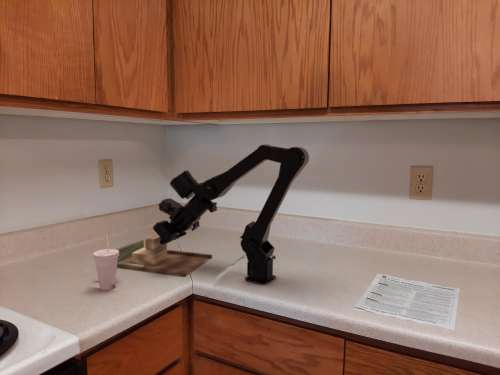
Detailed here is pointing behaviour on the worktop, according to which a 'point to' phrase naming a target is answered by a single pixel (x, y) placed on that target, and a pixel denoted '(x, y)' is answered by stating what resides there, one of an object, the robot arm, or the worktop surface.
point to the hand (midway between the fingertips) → (161, 243)
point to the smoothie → (106, 266)
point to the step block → (151, 251)
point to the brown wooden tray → (173, 265)
